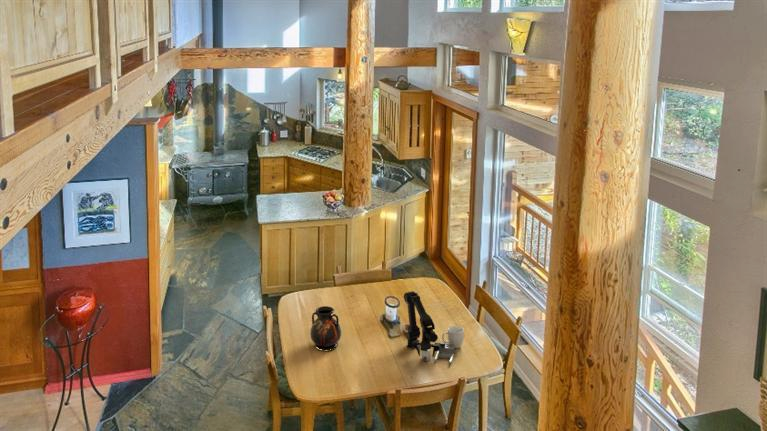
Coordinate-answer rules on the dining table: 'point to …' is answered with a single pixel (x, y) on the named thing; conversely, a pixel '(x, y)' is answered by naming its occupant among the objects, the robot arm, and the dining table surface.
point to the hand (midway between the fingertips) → (426, 356)
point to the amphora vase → (325, 329)
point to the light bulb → (426, 355)
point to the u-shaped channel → (446, 352)
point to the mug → (455, 336)
